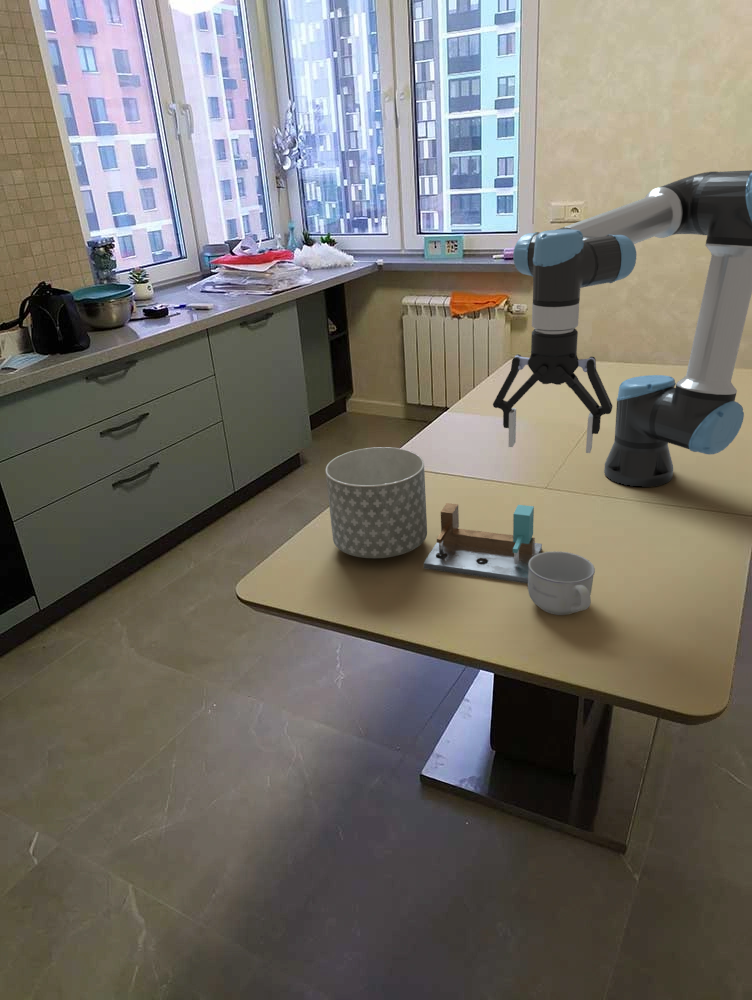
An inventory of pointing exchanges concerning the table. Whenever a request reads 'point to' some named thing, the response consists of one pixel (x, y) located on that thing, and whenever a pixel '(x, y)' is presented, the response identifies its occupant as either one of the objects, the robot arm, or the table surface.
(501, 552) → the gauge board
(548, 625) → the table surface
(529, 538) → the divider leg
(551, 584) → the teacup
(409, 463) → the planter
